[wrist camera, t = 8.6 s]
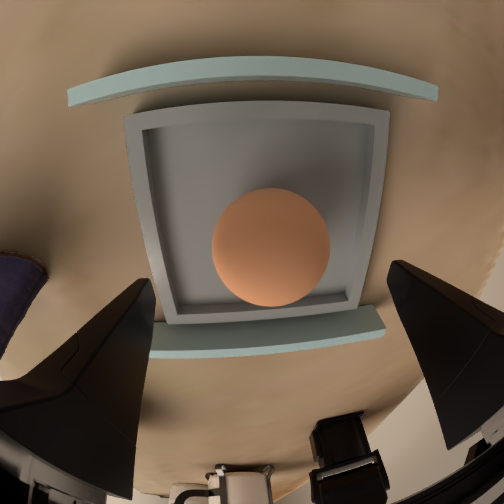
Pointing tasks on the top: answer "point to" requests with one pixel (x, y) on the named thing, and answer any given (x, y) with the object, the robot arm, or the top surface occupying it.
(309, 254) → the ball
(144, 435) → the top surface
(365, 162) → the dish
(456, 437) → the robot arm
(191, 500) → the ramekin
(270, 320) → the acrylic walls
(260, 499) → the coffee press
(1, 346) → the flask
